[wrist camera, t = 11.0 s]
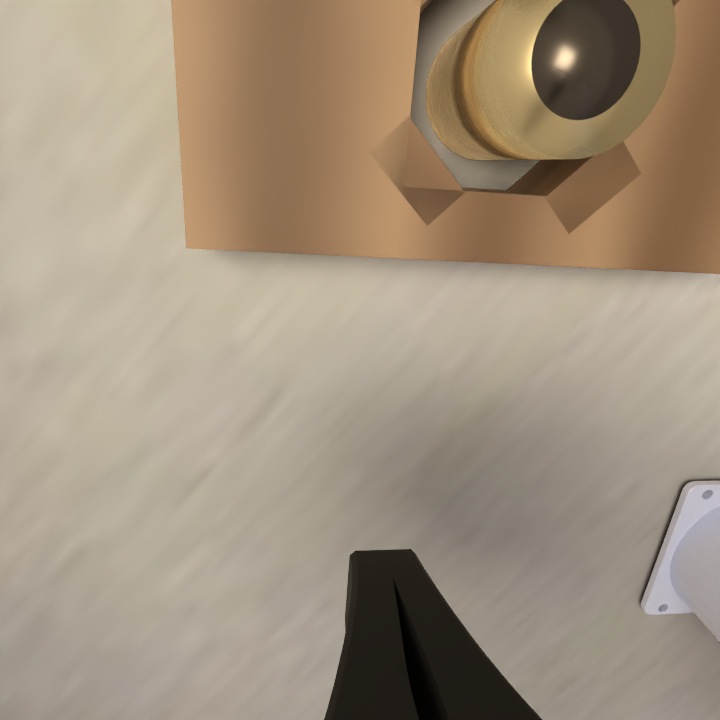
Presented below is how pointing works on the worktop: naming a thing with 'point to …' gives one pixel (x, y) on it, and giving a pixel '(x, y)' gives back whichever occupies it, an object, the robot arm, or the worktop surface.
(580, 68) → the bushing
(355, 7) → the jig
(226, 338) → the worktop surface
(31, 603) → the worktop surface
